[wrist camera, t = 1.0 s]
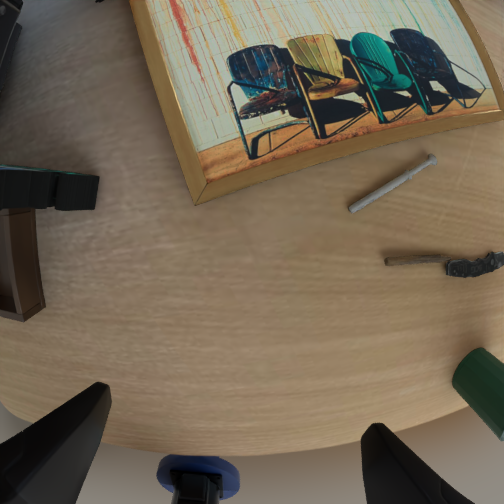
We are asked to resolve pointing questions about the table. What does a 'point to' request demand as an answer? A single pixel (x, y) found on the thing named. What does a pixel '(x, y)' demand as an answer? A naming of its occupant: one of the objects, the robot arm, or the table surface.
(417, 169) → the wall anchor
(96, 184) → the decorative sign
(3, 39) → the camera
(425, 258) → the stick
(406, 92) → the picture frame
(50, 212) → the table surface
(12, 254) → the brown wooden square tray
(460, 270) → the folding knife
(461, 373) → the stoneware bottle
